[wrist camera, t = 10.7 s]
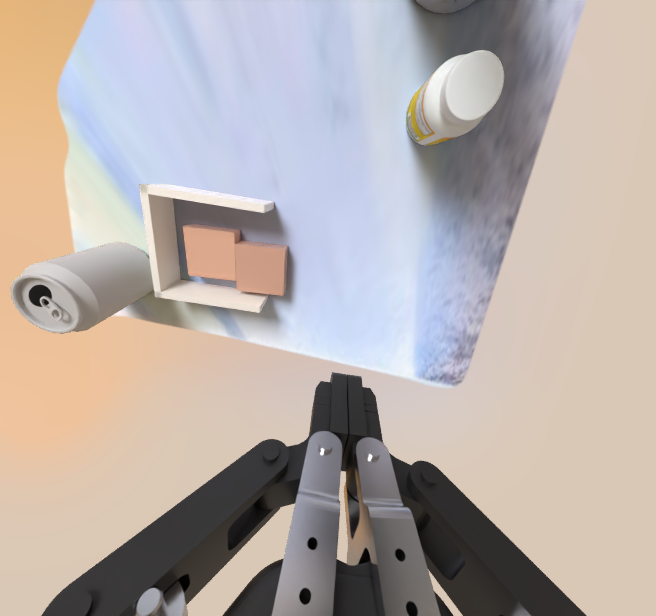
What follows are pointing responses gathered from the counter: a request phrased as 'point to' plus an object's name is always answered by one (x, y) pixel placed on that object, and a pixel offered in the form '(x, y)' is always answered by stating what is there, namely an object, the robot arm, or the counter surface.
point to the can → (82, 287)
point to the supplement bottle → (455, 97)
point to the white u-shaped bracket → (165, 246)
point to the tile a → (211, 251)
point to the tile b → (261, 267)
